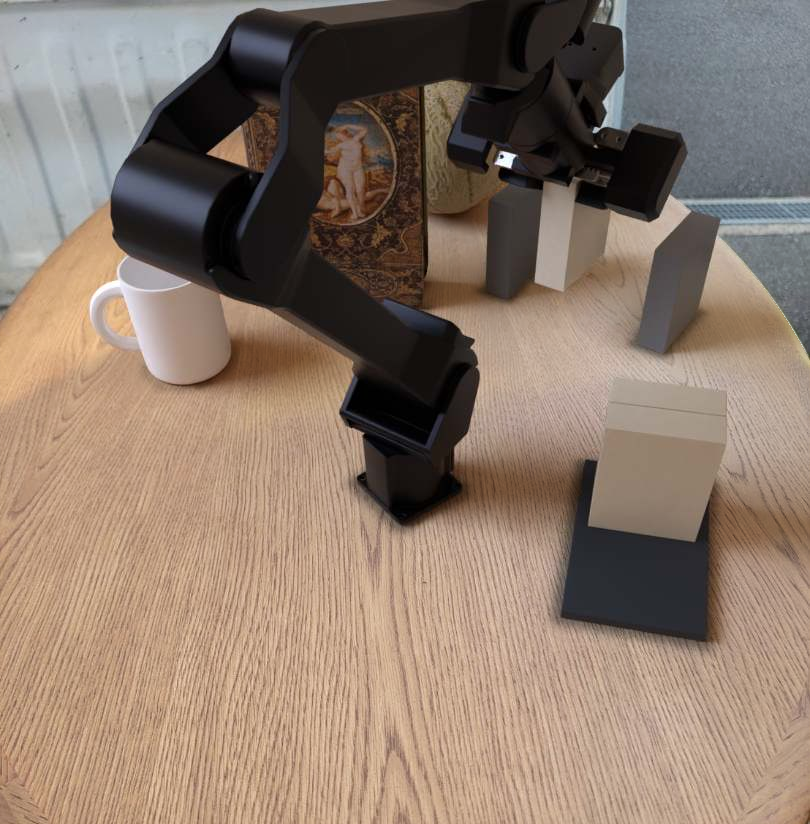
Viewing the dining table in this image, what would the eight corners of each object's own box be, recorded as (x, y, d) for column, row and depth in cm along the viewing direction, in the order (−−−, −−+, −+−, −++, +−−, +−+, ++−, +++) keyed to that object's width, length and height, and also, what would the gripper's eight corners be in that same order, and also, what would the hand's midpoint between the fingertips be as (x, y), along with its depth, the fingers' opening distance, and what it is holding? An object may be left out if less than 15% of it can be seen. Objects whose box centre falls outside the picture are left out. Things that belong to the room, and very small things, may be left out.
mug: (101, 394, 81) (65, 298, 74) (114, 341, 87) (82, 246, 79) (230, 384, 82) (207, 287, 74) (235, 332, 87) (214, 237, 79)
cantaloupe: (516, 233, 98) (525, 93, 86) (385, 242, 97) (377, 103, 86) (498, 171, 107) (503, 39, 96) (379, 180, 107) (371, 47, 96)
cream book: (563, 292, 78) (576, 183, 70) (534, 282, 79) (544, 174, 72) (604, 252, 82) (621, 146, 75) (576, 244, 83) (589, 138, 76)
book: (266, 305, 90) (218, 41, 71) (276, 276, 94) (233, 17, 75) (424, 309, 88) (418, 41, 70) (428, 279, 92) (424, 17, 73)
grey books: (663, 354, 82) (685, 258, 75) (484, 291, 90) (488, 199, 83) (697, 312, 86) (721, 218, 79) (523, 256, 94) (530, 165, 87)
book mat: (560, 617, 62) (576, 514, 54) (583, 465, 73) (600, 360, 65) (704, 641, 61) (743, 539, 53) (707, 483, 71) (741, 376, 63)
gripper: (707, 15, 57) (730, 126, 71) (467, -27, 65) (531, 80, 79) (635, 180, 59) (670, 256, 73) (409, 120, 66) (481, 199, 81)
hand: (586, 192), depth 76 cm, fingers closed on cream book, 3 cm apart
